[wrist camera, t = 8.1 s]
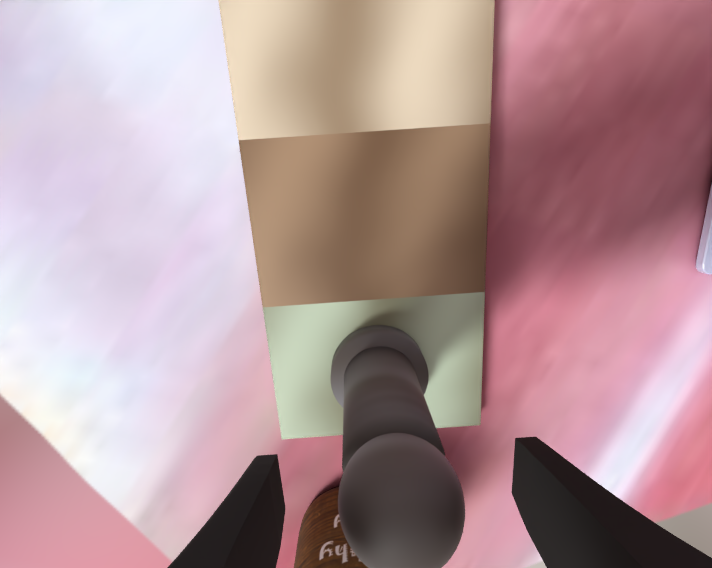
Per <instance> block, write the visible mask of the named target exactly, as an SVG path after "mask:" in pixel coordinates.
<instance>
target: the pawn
mask: <svg viewBox="0 0 712 568" xmlns="http://www.w3.org/2000/svg"><path fill="white" fill-rule="evenodd" d="M428 379H429V374H428V367H427V364H426V361H425V358H424V356H423V354H422V352H421V350H420V348H419V346H418V344H417V343H416V342H415V340H414V339H413V338H412V337H411V336H409V335H408V334H407V333H405V332H404V331H402V330H400V329H398V328H395V327H391V326H386V325H372V326H367V327H363V328H360V329H358V330H356V331H354V332H352V333H351V334H349V335H348V336H347V337H346V338H345V339H343V341H342V342H341V343H340V344H339V346H338V347H337V349H336V351H335V353H334V356H333V359H332V366H331V388H332V391H333V394H334V396H335V398H336V400H337V401H338V403H339V404H340V405H341V406H342V407H343V458H342V468H343V475H342V478H341V482H340V486H339V494H338V511H339V517H340V523H341V526H342V529H343V532H344V535H345V538H346V540H347V542H348V543H349V545H350V547H351V549H352V550H353V552H354V553H355V554H356V556H357V557H358V558H359V559H360V560H361V561H362V562H363V563H364V564H365V565H366V566H367V567H368V568H442V567H443V566H444V565H445V564H446V563H447V562H448V561H449V559H450V558H451V556H452V555H453V553H454V552H455V550H456V548H457V546H458V544H459V542H460V539H461V536H462V532H463V527H464V521H465V503H464V496H463V491H462V488H461V484H460V482H459V479H458V477H457V475H456V472H455V470H454V469H453V467H452V465H451V464H450V462H449V461H448V460H447V458H446V457H445V453H444V449H443V446H442V443H441V441H440V438H439V435H438V432H437V430H436V427H435V424H434V422H433V419H432V416H431V413H430V411H429V408H428V405H427V403H426V400H425V397H424V394H425V392H426V389H427V385H428Z"/></svg>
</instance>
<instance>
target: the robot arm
mask: <svg viewBox="0 0 712 568" xmlns="http://www.w3.org/2000/svg"><path fill="white" fill-rule="evenodd" d="M696 268H697V270H698V271H699V272H701V273H705V274H712V184H711V189H710V194H709V199H708V204H707V209H706V214H705V219H704V225H703V230H702V235H701V240H700V245H699V250H698V255H697V260H696ZM512 495H513V497H514V500H515V502H516V505H517V507H518V510H519V512H520V515H521V517H522V519H523V522H524V524H525V526H526V529H527V531H528V533H529V535H530V537H531V539H532V541H533V542H534V544H535V546H536V548H537V550H538V552H539V554H540V556H541V557H542V559H543V561H544V563H545V565H546V567H547V568H712V558H711V557H709V556H707V555H706V554H704V553H702V552H701V551H699V550H697V549H696V548H694V547H692V546H691V545H689V544H687V543H686V542H684V541H682V540H681V539H679V538H677V537H676V536H674V535H673V534H671V533H670V532H668V531H666V530H665V529H663V528H662V527H660V526H659V525H657V524H656V523H654V522H653V521H651V520H650V519H648V518H647V517H645V516H644V515H642V514H641V513H639V512H638V511H636V510H635V509H633V508H632V507H630V506H629V505H627V504H626V503H625V502H623V501H622V500H620V499H619V498H617V497H616V496H615V495H613V494H612V493H610V492H609V491H608V490H606V489H605V488H603V487H602V486H601V485H599V484H598V483H597V482H595V481H594V480H593V479H591V478H590V477H589V476H587V475H586V474H585V473H583V472H582V471H581V470H579V469H578V468H577V467H575V466H574V465H573V464H571V463H570V462H569V461H567V460H566V459H565V458H563V457H562V456H561V455H559V454H558V453H557V452H556V451H554V450H553V449H552V448H550V447H549V446H548V445H546V444H545V443H544V442H542V441H541V440H540V439H538V438H537V437H525V438H515V453H514V468H513V483H512ZM284 515H285V503H284V496H283V489H282V483H281V476H280V470H279V463H278V456H277V454H276V455H261V456H256V458H255V459H254V460H253V461H252V463H251V464H250V465H249V467H248V468H247V470H246V471H245V472H244V474H243V475H242V477H241V478H240V479H239V481H238V482H237V483H236V485H235V486H234V487H233V489H232V490H231V491H230V493H229V494H228V496H227V497H226V498H225V499H224V501H223V502H222V503H221V505H220V506H219V507H218V508H217V510H216V511H215V512H214V514H213V515H212V516H211V517H210V519H209V520H208V521H207V522H206V524H205V525H204V526H203V527H202V529H201V530H200V531H199V532H198V533H197V534H196V536H195V537H194V538H193V539H192V540H191V542H190V543H189V544H188V545H187V546H186V547H185V549H184V550H183V551H182V552H181V553H180V554H179V556H178V557H177V558H176V559H175V560H174V561H173V562H172V563H171V564H170V566H169V567H168V568H276V564H277V559H278V555H279V551H280V545H281V538H282V531H283V523H284Z"/></svg>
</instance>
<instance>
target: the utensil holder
mask: <svg viewBox="0 0 712 568" xmlns="http://www.w3.org/2000/svg"><path fill="white" fill-rule="evenodd" d="M338 494H339V487H337V488H334V489H331V490H329V491H327V492H325V493H323V494H322V495H320V496H319V497H318V498H316V499H315V500H314V501H313V502H312V504H311V505H310V506H309V508H308V509H307V511H306V513H305V515H304V517H303V520H302V524H301V528H300V532H299V537H298V544H297V550H296V557H295V564H294V568H368V567H367V566H366V565H365V564H364V563H363V562H362V561H361V560H360V559H359V558H358V557H357V556H356V554H355V553H354V552H353V550H352V549H351V547H350V545H349V543H348V542H347V540H346V538H345V535H344V532H343V529H342V526H341V523H340V517H339V511H338Z"/></svg>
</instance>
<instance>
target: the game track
mask: <svg viewBox="0 0 712 568" xmlns="http://www.w3.org/2000/svg"><path fill="white" fill-rule="evenodd" d="M494 5H495V0H219V7H220V14H221V21H222V28H223V35H224V42H225V49H226V56H227V62H228V69H229V76H230V83H231V90H232V97H233V104H234V111H235V118H236V125H237V132H238V139H239V146H240V153H241V160H242V167H243V174H244V180H245V187H246V194H247V201H248V208H249V215H250V222H251V229H252V236H253V243H254V250H255V257H256V264H257V271H258V278H259V285H260V292H261V299H262V305H263V312H264V319H265V326H266V333H267V340H268V347H269V354H270V361H271V368H272V375H273V382H274V389H275V396H276V403H277V410H278V417H279V423H280V430H281V437H282V439H292V438H306V437H320V436H334V435H343V407H342V406H341V405H340V404H339V403H338V401H337V400H336V398H335V396H334V394H333V391H332V388H331V366H332V359H333V356H334V353H335V351H336V349H337V347H338V346H339V344H340V343H341V342H342V341H343V339H345V338H346V337H347V336H348V335H349V334H351V333H352V332H354V331H356V330H358V329H360V328H363V327H367V326H372V325H386V326H391V327H395V328H398V329H400V330H402V331H404V332H405V333H407V334H408V335H409V336H411V337H412V338H413V339H414V340H415V342H416V343H417V344H418V346H419V348H420V350H421V352H422V354H423V356H424V358H425V361H426V364H427V367H428V374H429V379H428V385H427V389H426V392H425V394H424V397H425V400H426V403H427V405H428V408H429V411H430V413H431V416H432V419H433V422H434V424H435V427H436V428H446V427H460V426H474V425H480V421H481V391H482V361H483V332H484V302H485V272H486V243H487V213H488V183H489V153H490V124H491V94H492V64H493V35H494Z"/></svg>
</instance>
